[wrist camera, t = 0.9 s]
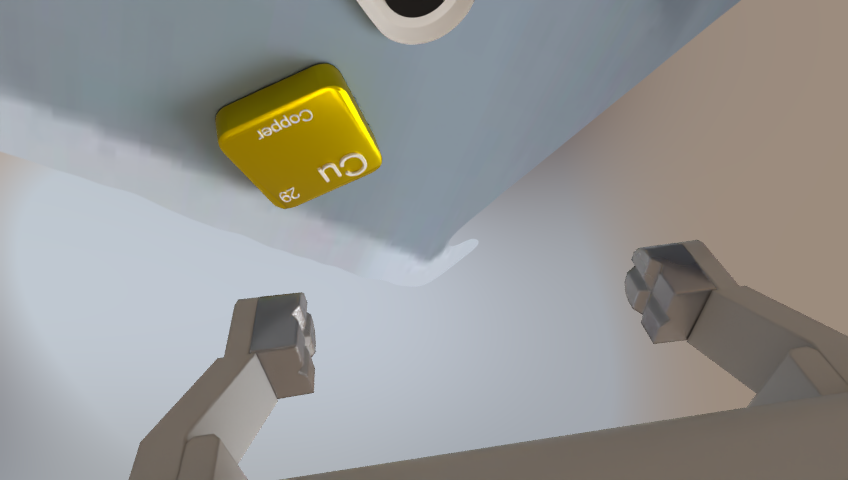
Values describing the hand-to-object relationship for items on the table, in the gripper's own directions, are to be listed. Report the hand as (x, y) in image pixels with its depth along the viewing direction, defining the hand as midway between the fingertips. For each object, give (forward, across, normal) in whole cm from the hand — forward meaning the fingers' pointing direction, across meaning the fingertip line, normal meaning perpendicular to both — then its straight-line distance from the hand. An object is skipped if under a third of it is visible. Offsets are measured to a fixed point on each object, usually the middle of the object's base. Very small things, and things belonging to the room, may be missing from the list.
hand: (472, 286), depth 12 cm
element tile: (+47, +11, +20) cm, 52 cm away
